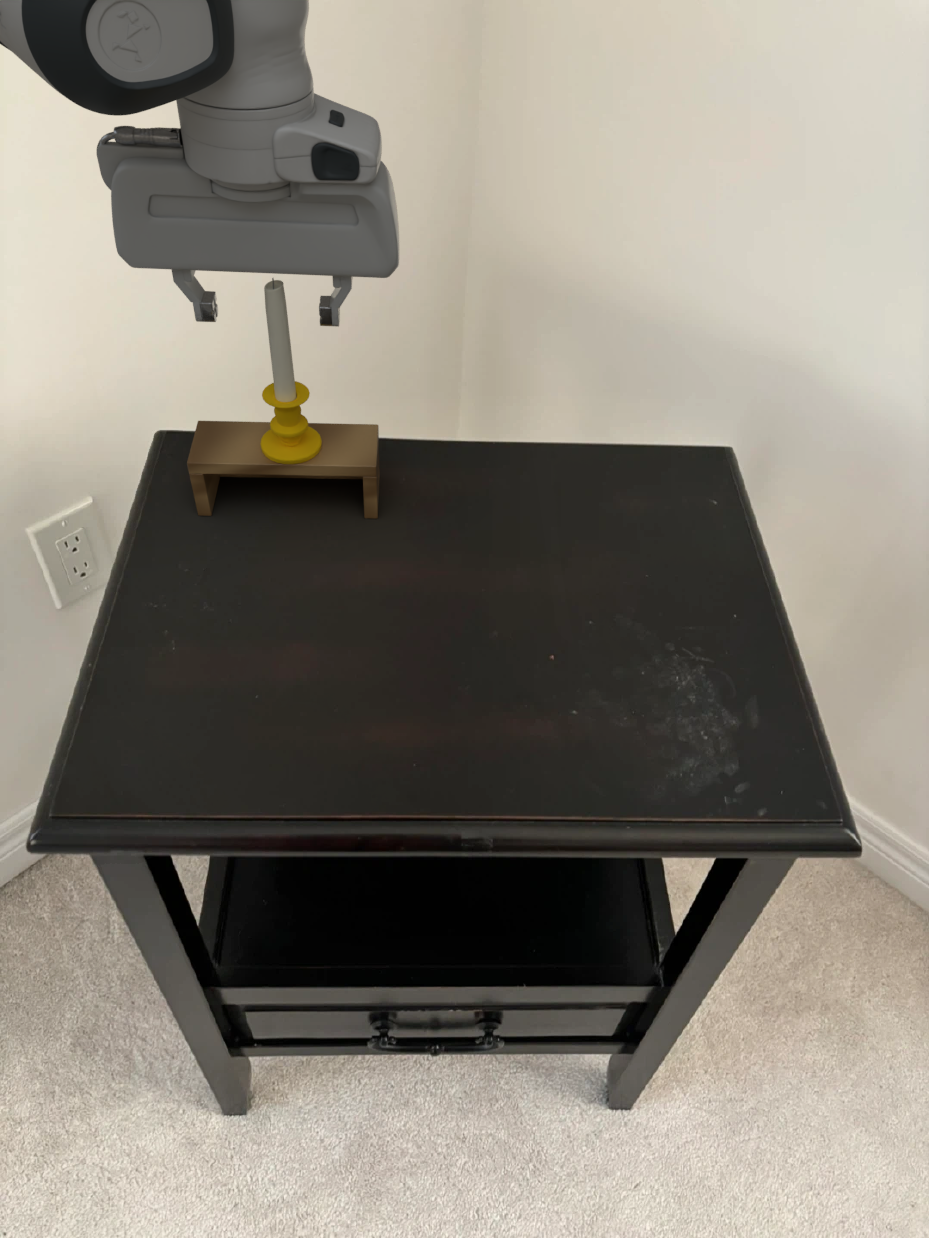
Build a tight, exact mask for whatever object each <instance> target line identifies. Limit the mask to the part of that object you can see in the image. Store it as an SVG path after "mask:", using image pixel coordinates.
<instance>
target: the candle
mask: <svg viewBox="0 0 929 1238" xmlns="http://www.w3.org/2000/svg"><path fill="white" fill-rule="evenodd" d="M263 291H264V305H265V306H264V307H265V315H266V325H267V334H268V343H269V344H268V345H269V351H270V361H271V362H270V363H271V371H272V378H273V379H272V381H273V382H271V383H270V384H268V385H267V386H265V387H264V389H263V390H262V393H261V397H262V400H263V401H264V402H265V404H267V405H268V406H270V407H274V408H273V413H274V416H273V417H272V418H271V420H270V421H269V422H270V428H271V429H270V430H268V431H267V432H266V433H265V434H264V435H263V437H262V438H261V443H260V444H261V449H262V452H263V454H264V455H265V456H266V457H267V458H269V459H270V460H272V461H274V462H277V463H281V464H299V463H303V462H306V461H308V460H310V459H312V458H314V457H315V456H316V455H317V454H318V453H319V451H320V449H321V445H322V441H321V437H320V435H319V433H318V432H317V431H316V430H314V429H313V428H311V427H309V426H308V423H309V420H308V419H307V417H306V416H305V415H303V414H302V408H301V406H302V405H303V404H305V403H306V402H307V401H308V399H309V398H310V394H311V393H310V389H309V388H308V387H307V386H306V385H305V384H304V383H302V382H301V381H297V380H295V371H294V363H293V361H294V360H293V354H292V344H291V343H292V342H291V335H290V327H289V326H290V325H289V317H288V308H287V299H286V291H285V287H284V281H283V280H280V279H274V277H272V278H271V280H270V281H269V282H267V283H266V284H265V285H264V288H263Z"/></svg>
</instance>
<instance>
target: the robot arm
mask: <svg viewBox="0 0 929 1238" xmlns="http://www.w3.org/2000/svg"><path fill="white" fill-rule="evenodd" d="M309 12H310V0H0V45H1V46H3V47H4V48H5V49H7V50H9V51H10V52H11V53H13V54H14V55H15V56H16V57H17V58H18V59H19V60H20V61H22V62H23V63H24V64H25V65H26V66H27V67H28V68H29V69H30V70H32V71H33V72H34V73H35V74H36V75H37V76H39V77H40V78H41V79H42V80H43V81H45V82H46V83H47V84H48V86H50V87H51V88H52V89H54V90H55V91H56V92H57V93H59V95H61V96H63V97H64V98H66V99H68V100H69V101H71V102H72V103H74V104H76V105H77V106H79V107H81V108H83V109H86V110H87V111H89V112H93V113H98V114H100V115H105V116H106V115H107V116H129V115H134V114H138V113H143V112H146V111H149V110H152V109H155V108H158V107H161V106H164V105H167V104H170V103H173V102H175V101H176V107H177V114H178V120H179V128H178V127H150V128H149V127H146V128H144V127H136V126H134V125H118V126H114V127H113V131H111V132H108V133H106V134H104V135H103V136H101V138H100V139H99V141H98V143H97V145H96V159H97V163H98V167H99V172H100V176H101V178H102V181H103V182H104V184H105V186H106V187H107V188H108V189H109V190H110V204H111V207H110V208H111V218H112V229H113V237H114V242H115V243H114V244H115V248H116V252H117V255H118V256H119V257H120V258H121V259H122V260H123V261H124V262H125V263H126V264H127V265H128V266H129V267H130V268H133V269H151V270H171V275H172V281H173V283H174V284H175V285H176V286H177V288H178V289H179V290H180V291H181V292H182V294H183V295H184V296H185V297H186V299H188V301H189V302H190V303H192V306H193V307H192V308H193V313H194V318H195V321H196V322H198V323H199V322H200V323H216V322H217V318H218V316H219V307H218V303H217V300H218V299H217V293H216V291H213V290H212V291H211V290H205V289H204V287H203V286H202V285H201V283H200V282H199V280H198V279H197V277H196V276H195V274H196V271H202V272H224V273H225V272H226V273H227V272H228V273H251V274H252V273H253V274H274V275H275V274H276V275H277V274H278V275H298V276H299V275H302V276H324V277H331V278H332V287H333V291H332V292H331V294H330V295H320V297H319V305H318V315H319V326H320V327H338V328H339V327H340V321H341V307H342V305H343V304H344V302H345V300H346V298H347V297H348V296H349V294H350V292H351V291H352V289H353V279H354V278H376V279H387V278H389V277H390V276H392V274H394V272H396V270H397V268H398V267H399V266H400V226H399V215H398V208H397V207H398V205H397V200H396V193H395V187H394V182H393V179H392V176H391V174H390V171H389V169H388V168H387V165H386V164H385V163H384V162H383V161H382V153H383V152H382V151H383V140H382V133H381V132H382V131H381V128H380V124H379V122H378V121H377V119H375V118H374V117H373V116H371V115H369V114H367V113H365V112H362V111H359V110H357V109H354V108H351V107H349V106H347V105H344V104H341V103H339V102H336V101H334V100H331V99H329V98H326V97H325V96H322V95H320V94H317V93H315V90H314V78H313V74H312V69H311V67H310V63H309V61H308V56H307V52H306V42H305V41H306V29H307V24H308V19H309ZM111 140H114V141H111Z"/></svg>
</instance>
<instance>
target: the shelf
mask: <svg viewBox="0 0 929 1238" xmlns="http://www.w3.org/2000/svg"><path fill="white" fill-rule="evenodd" d="M308 426H309V427H311V428H313V429H314V430H316V431H317V432H318V433H319V435H320V437H321V441H322V445H321V449H320V451H319V453H318V454H317V455H316V456H315V457H314V458H312V459H310V460H308V461H306V462H303V463H299V464H281V463H277V462H274V461H272V460H270V459H269V458H267V457H266V456H265V455H264V454H263V452H262V449H261V444H260V443H261V438H262V437H263V435H264V434H265V433H266V432H267V431H268V430H270V429H271V428H270V421H239V420H237V421H233V420H232V421H231V420H230V421H229V420H197V423H196V428H195V431H194V435H193V438H192V442H191V446H190V449H189V453H188V456H187V457H188V458H187V462H186V466H187V471H188V474H189V480H190V485H191V489H192V493H193V499H194V502H195V507H196V512H197V515H198V517H199V516H200V517H212V515H213V511H214V506H215V502H216V497H217V493H218V489H219V484H220V479H221V478H265V479H267V478H270V479H271V478H272V479H276V478H277V479H327V480H329V479H330V480H332V479H333V480H335V479H336V480H362V494H363V515H364V516H363V518H364V519H375V520H377V519H378V518H379V500H380V499H379V498H380V478H381V475H380V473H381V471H380V436H379V435H380V433H379V432H380V431H379V430H380V429H379V428H380V427H379V424H376V423H375V424H373V423H372V424H371V423H369V424H368V423H327V422H325V423H324V422H308Z"/></svg>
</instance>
